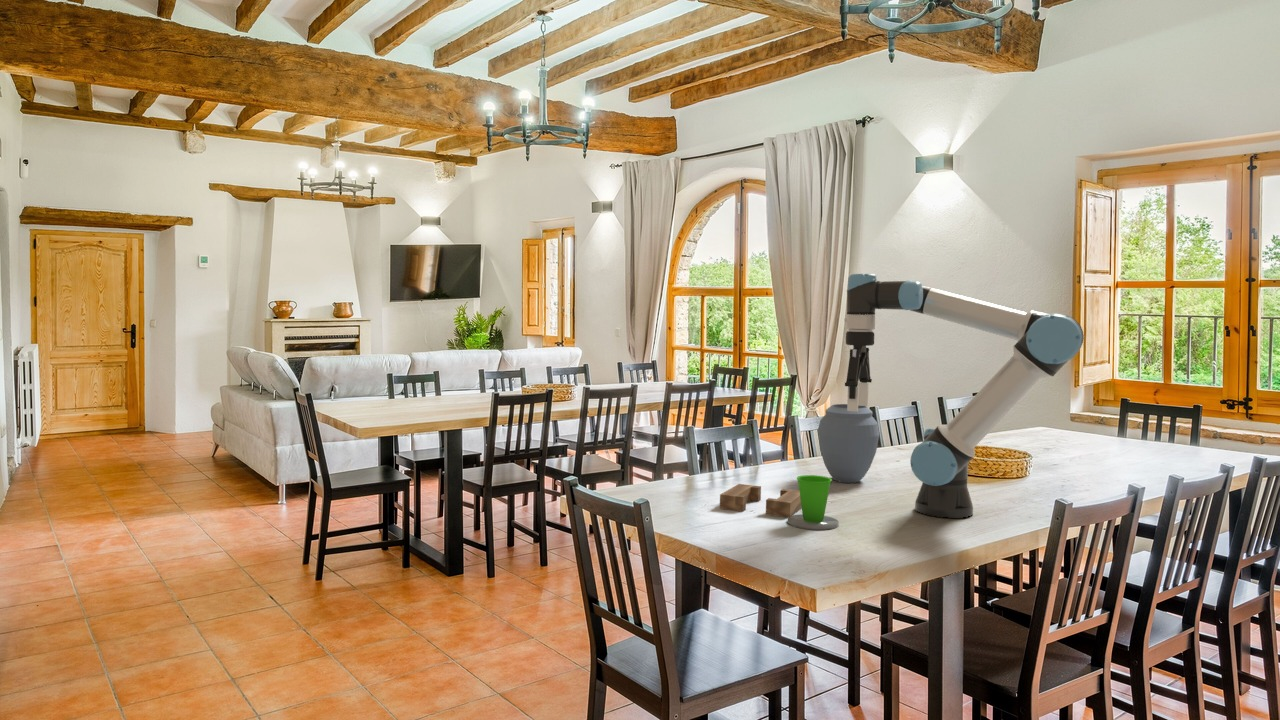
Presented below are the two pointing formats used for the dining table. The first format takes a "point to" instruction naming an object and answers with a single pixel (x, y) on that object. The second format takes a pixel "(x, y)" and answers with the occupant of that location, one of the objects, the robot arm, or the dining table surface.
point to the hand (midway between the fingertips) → (857, 408)
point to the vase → (848, 442)
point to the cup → (813, 496)
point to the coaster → (824, 525)
